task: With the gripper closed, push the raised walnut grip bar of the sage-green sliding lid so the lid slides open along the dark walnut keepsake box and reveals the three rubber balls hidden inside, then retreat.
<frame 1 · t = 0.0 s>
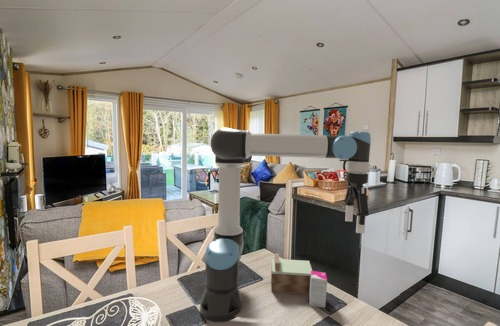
hand: (354, 226, 101), 28 cm above the table, fingers open, 13 cm apart
keepsake box: (290, 287, 108), on the table
supplement box: (316, 304, 97), on the table
lid: (291, 263, 107), point 10 cm above the table, slide at 0.0 cm
ball mustard: (287, 282, 109), point 1 cm above the table, touching keepsake box
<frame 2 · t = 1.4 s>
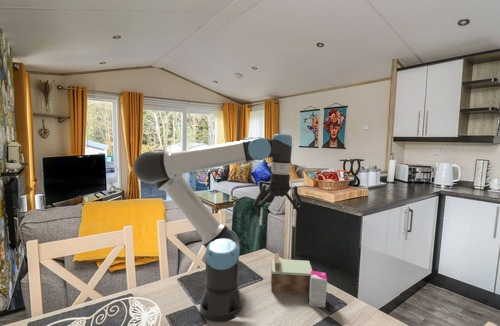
hand: (277, 225, 105), 26 cm above the table, fingers open, 13 cm apart
nothing on the table moved.
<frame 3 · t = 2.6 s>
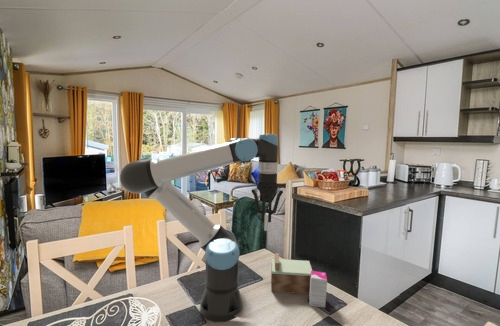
hand: (266, 229, 106), 24 cm above the table, fingers closed
nothing on the table moved.
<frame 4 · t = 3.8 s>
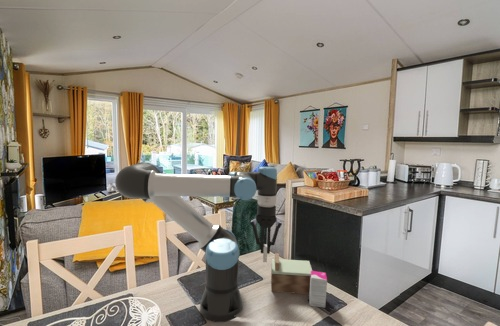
hand: (264, 260, 107), 11 cm above the table, fingers closed
nothing on the table moved.
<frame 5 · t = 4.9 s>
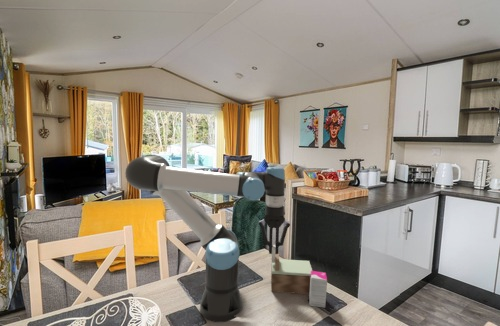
hand: (273, 261, 107), 11 cm above the table, fingers closed
lid: (291, 263, 107), point 10 cm above the table, slide at 0.0 cm, touching gripper
everything else where it was.
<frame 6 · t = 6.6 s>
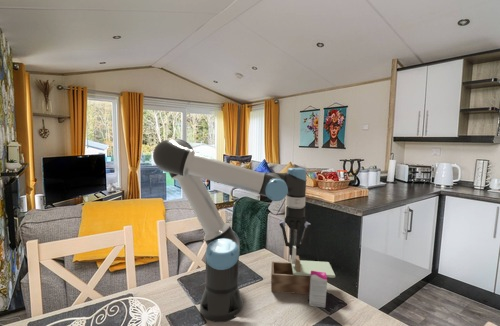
hand: (293, 262, 107), 11 cm above the table, fingers closed
lid: (312, 264, 106), point 10 cm above the table, slide at 8.3 cm, touching gripper
everything else where it was.
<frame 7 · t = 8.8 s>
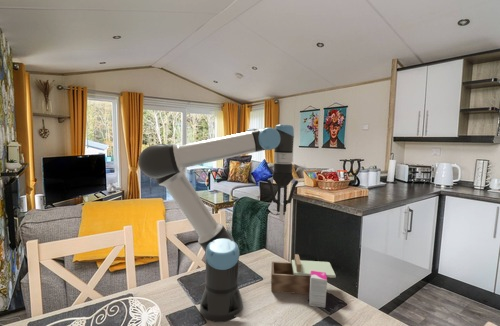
hand: (281, 219, 108), 28 cm above the table, fingers closed
lid: (312, 264, 106), point 10 cm above the table, slide at 8.5 cm
everything else where it was.
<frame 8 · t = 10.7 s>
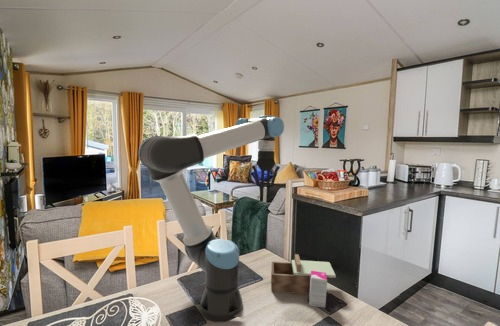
hand: (264, 201, 119), 32 cm above the table, fingers closed
nothing on the table moved.
at the end: lid slide at 8.5 cm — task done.
